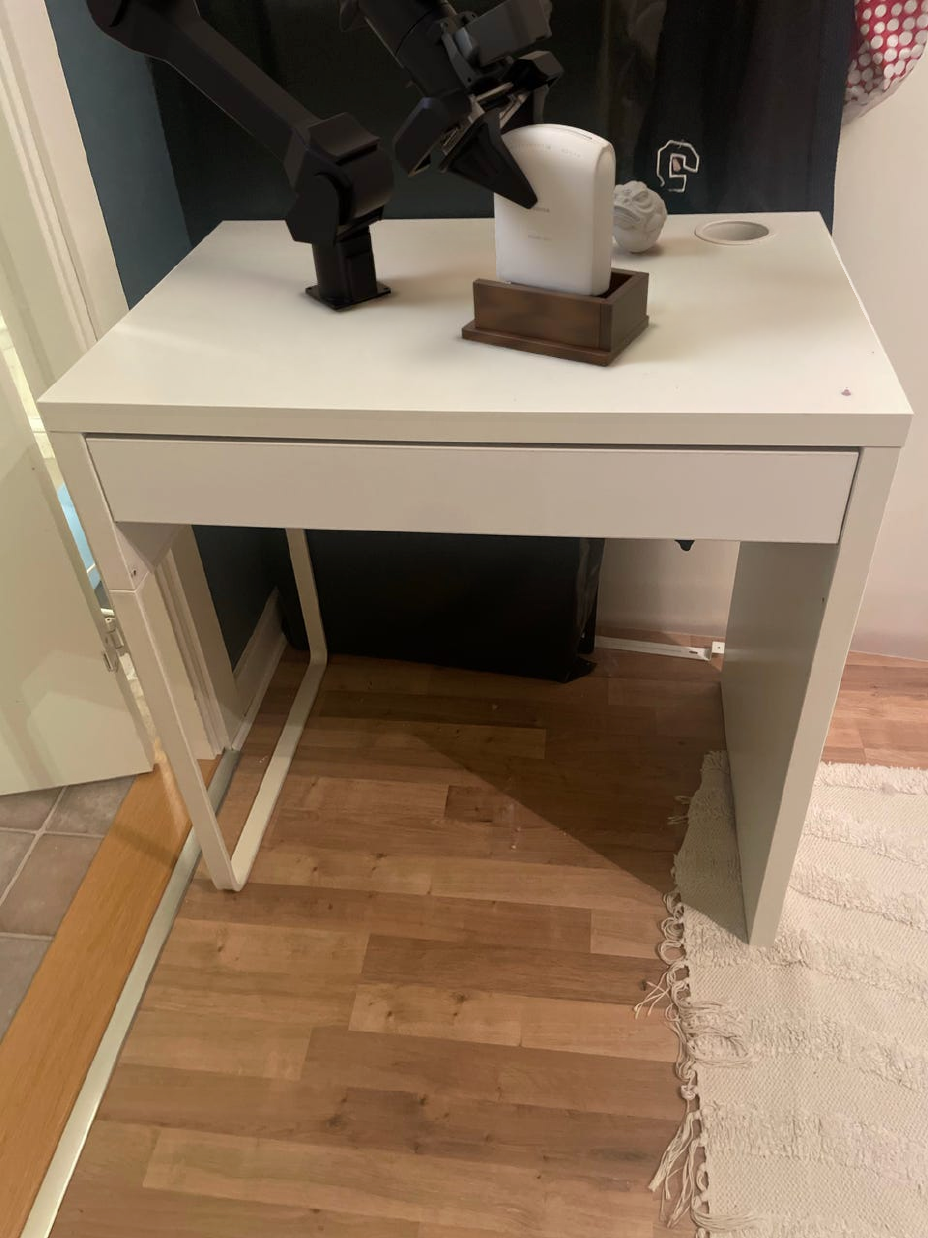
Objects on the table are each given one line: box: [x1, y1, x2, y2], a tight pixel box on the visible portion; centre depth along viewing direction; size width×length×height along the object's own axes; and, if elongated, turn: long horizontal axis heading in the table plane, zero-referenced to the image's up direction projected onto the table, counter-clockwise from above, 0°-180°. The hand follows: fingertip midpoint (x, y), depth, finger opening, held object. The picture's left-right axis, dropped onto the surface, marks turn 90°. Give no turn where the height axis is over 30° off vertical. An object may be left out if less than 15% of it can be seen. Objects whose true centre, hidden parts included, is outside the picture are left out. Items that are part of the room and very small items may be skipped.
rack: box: [460, 266, 650, 367], centre depth 83 cm, size 14×9×5 cm, turn 59°
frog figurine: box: [612, 180, 668, 253], centre depth 96 cm, size 6×7×7 cm
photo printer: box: [493, 123, 616, 296], centre depth 78 cm, size 10×4×12 cm, turn 57°
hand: (546, 197), depth 77 cm, fingers closed on photo printer, 4 cm apart
